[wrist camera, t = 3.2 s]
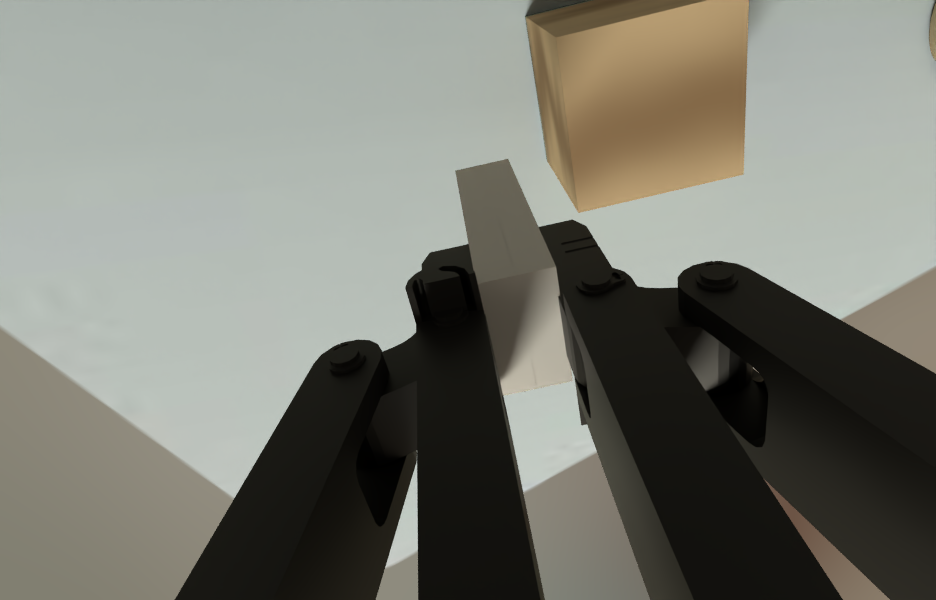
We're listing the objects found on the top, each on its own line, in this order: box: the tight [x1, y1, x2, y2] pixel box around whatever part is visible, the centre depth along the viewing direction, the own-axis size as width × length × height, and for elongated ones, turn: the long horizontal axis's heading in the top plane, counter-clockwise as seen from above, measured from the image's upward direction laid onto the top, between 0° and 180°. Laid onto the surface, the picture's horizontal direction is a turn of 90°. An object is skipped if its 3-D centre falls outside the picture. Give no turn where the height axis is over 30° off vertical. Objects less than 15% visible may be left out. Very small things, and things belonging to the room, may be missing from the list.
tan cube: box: [525, 0, 749, 213], centre depth 22 cm, size 6×6×6 cm
